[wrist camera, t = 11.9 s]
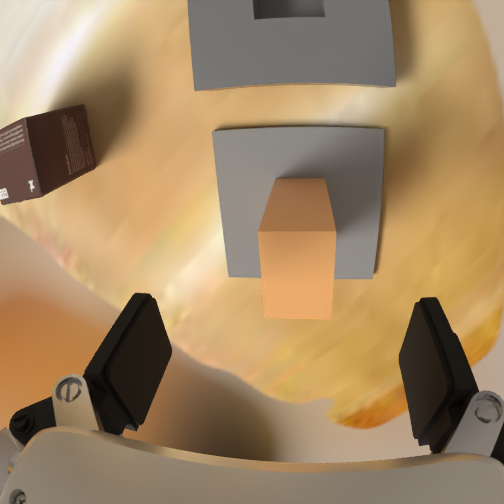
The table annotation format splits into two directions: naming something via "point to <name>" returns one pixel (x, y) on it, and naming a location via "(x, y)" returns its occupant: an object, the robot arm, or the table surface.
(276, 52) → the socket block
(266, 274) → the plug
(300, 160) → the mat
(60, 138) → the box
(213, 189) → the table surface
